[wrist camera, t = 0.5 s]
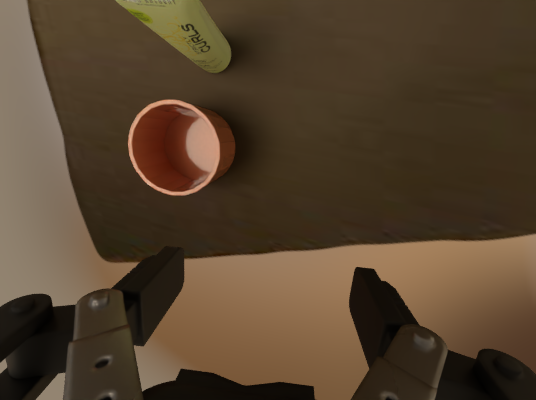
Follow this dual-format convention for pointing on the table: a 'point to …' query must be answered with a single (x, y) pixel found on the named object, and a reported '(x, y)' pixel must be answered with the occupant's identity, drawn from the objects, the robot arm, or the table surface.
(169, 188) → the pen cup
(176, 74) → the table surface
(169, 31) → the tube
